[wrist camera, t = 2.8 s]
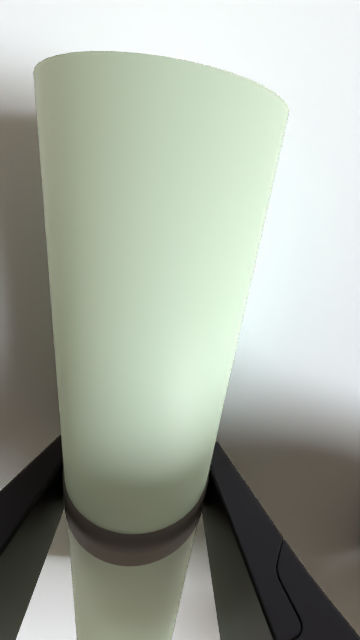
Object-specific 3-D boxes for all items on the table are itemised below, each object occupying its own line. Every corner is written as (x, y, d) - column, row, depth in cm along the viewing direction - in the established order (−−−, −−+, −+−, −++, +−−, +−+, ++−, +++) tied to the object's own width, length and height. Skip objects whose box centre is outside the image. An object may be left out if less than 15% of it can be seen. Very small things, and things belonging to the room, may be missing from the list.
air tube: (254, 140, 7) (350, 82, 3) (174, 562, 14) (175, 695, 11) (78, 116, 7) (-46, 21, 3) (90, 559, 14) (60, 694, 10)
